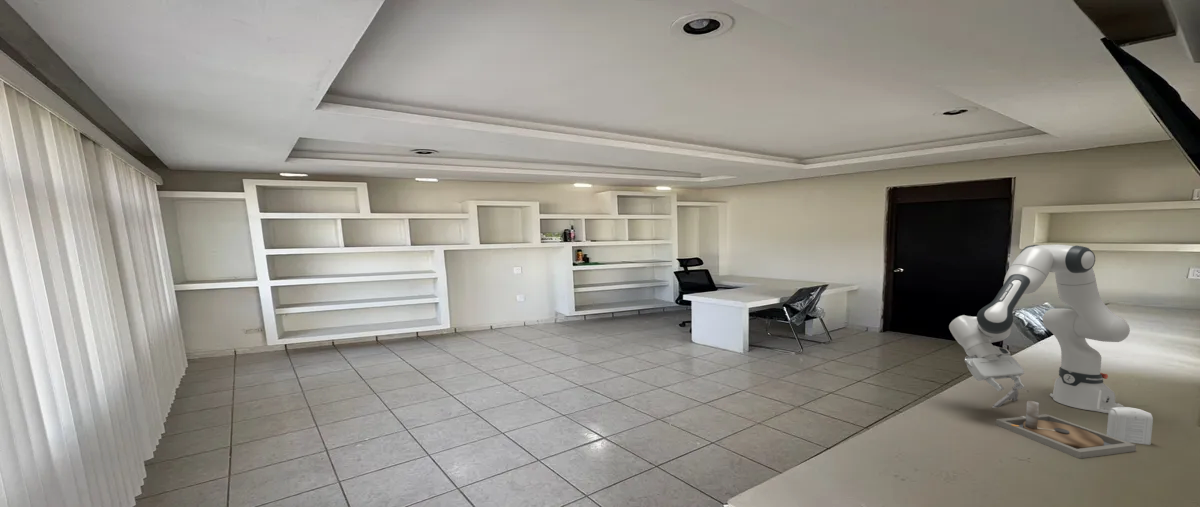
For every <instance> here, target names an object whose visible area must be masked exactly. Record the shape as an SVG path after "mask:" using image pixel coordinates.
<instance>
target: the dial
mask: <svg viewBox="0 0 1200 507" xmlns="http://www.w3.org/2000/svg"><path fill="white" fill-rule="evenodd" d="M1039 405H1040V403H1039V402H1038V401H1033V400H1027V401H1026V409H1025V410H1026V411H1025V416H1026V421H1025V422H1024V423H1023V428H1024V429H1027V430H1030V431H1032V432H1035V433H1037V434H1040V435H1042V436H1045V437H1048V438H1050V439H1053V440H1055V441H1058V442H1060V443H1063V444H1066V445H1068V446H1071V447H1073V448H1076V449H1081V448H1089V447H1097V446H1104V441H1103V440H1102V439H1101V438H1100V437H1098V436H1097V435H1095V434H1093V433H1090V432H1088V431H1085V430H1083V429H1080V428H1076V427H1073V426H1069V425H1066V424H1061V423H1057V422H1051V421H1044V420H1038V415H1039V409H1040V408H1039Z"/></svg>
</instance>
